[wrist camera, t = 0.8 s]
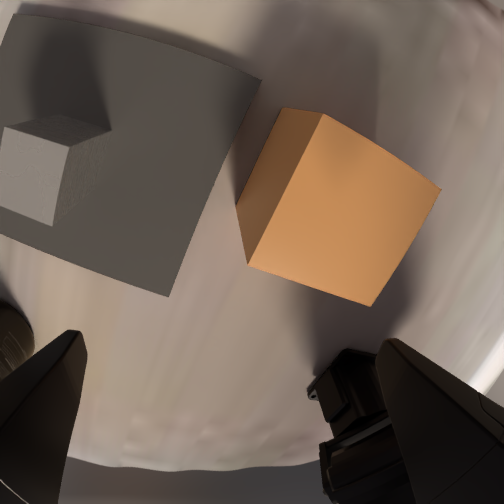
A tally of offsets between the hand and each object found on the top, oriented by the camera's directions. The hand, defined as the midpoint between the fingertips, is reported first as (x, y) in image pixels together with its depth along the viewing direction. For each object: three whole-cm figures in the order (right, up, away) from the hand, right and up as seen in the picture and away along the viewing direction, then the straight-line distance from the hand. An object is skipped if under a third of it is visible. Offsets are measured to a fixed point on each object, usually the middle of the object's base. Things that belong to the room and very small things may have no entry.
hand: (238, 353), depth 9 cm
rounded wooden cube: (+4, +7, +10) cm, 13 cm away
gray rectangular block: (-9, +8, +7) cm, 14 cm away
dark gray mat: (-9, +9, +7) cm, 15 cm away
